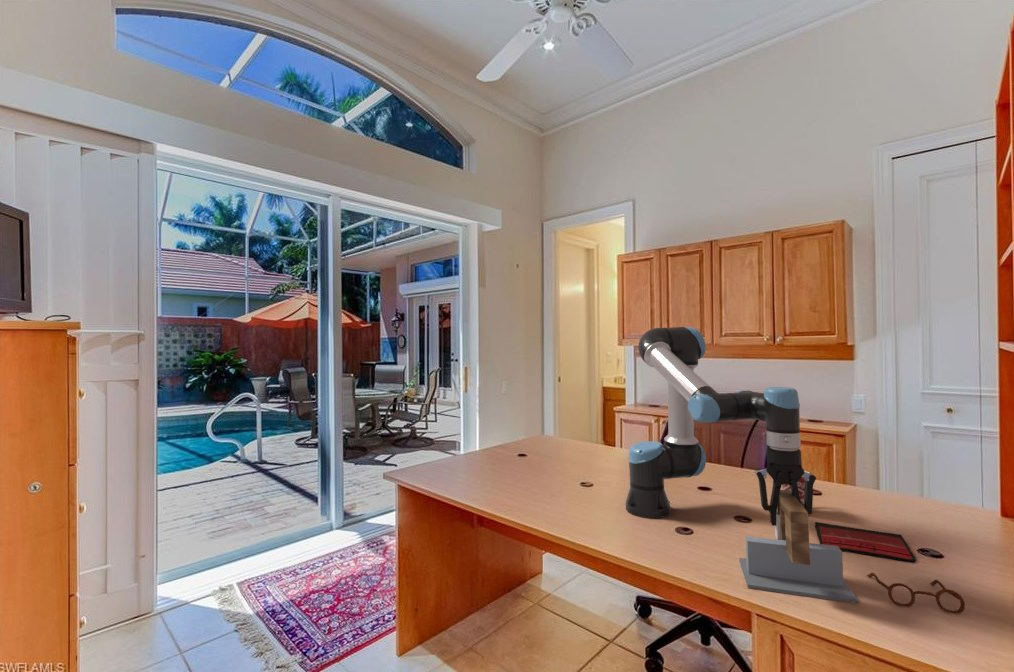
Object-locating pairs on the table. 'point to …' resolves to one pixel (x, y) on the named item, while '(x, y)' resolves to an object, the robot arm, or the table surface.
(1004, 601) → the table surface
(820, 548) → the stand board
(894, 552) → the black and red tablet
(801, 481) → the mug
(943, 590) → the glasses
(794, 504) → the brown rectangular block
